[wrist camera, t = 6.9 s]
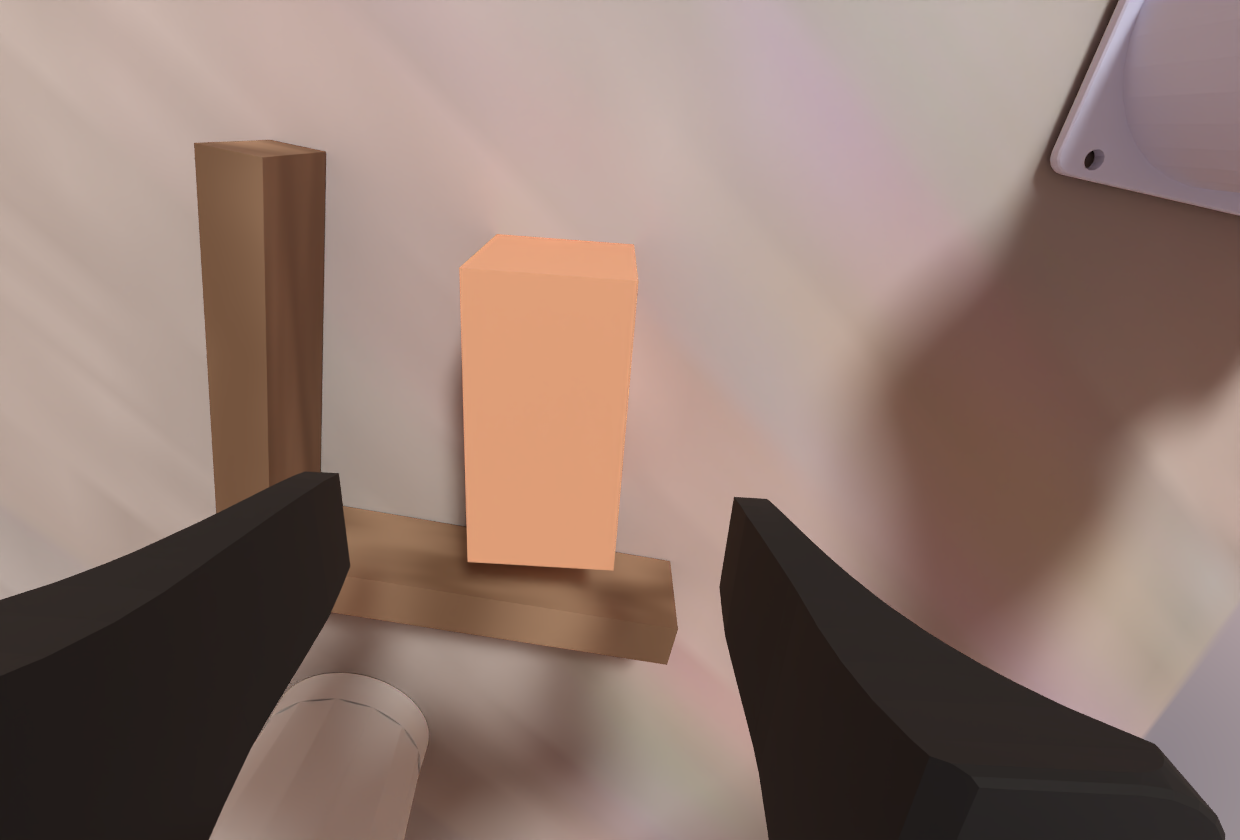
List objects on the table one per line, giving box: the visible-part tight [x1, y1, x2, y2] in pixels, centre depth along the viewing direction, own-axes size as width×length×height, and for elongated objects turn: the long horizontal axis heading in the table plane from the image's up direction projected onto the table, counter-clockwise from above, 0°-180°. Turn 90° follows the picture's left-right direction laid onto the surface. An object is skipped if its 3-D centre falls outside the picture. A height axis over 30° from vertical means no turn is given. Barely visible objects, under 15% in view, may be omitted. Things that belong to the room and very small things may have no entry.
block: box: [459, 234, 638, 571], centre depth 18 cm, size 8×4×5 cm, turn 176°
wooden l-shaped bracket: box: [194, 140, 678, 665], centre depth 19 cm, size 14×13×4 cm
